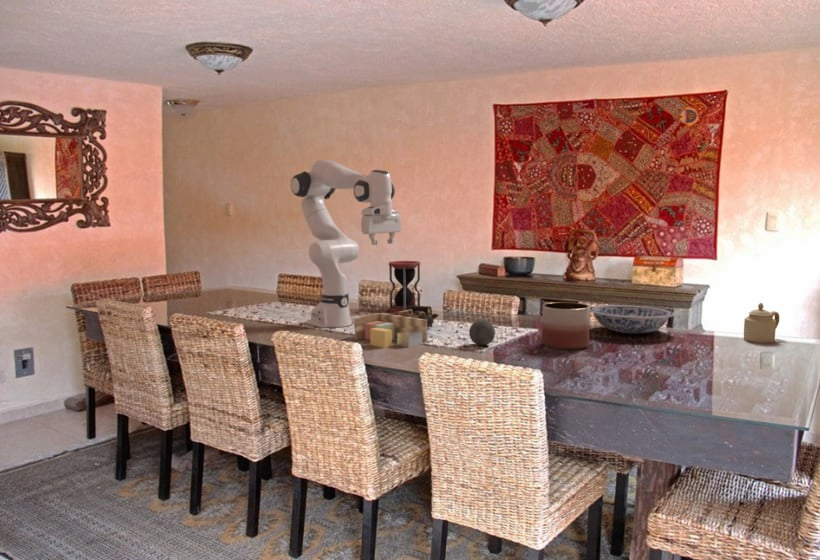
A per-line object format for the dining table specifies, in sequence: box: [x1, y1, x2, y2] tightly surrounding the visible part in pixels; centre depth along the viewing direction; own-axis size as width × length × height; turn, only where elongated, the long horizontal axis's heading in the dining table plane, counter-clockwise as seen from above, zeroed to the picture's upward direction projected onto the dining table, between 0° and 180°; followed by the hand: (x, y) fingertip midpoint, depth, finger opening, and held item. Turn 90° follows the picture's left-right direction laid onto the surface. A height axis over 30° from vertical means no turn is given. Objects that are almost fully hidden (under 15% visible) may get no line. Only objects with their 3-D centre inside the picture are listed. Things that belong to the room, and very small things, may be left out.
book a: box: [364, 321, 385, 341], centre depth 272 cm, size 4×8×6 cm, turn 138°
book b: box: [374, 322, 396, 340], centre depth 269 cm, size 4×8×6 cm, turn 138°
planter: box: [541, 301, 590, 351], centre depth 255 cm, size 18×18×16 cm
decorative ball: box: [468, 319, 496, 346], centre depth 257 cm, size 10×10×10 cm
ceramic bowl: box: [589, 304, 676, 335], centre depth 278 cm, size 34×34×10 cm
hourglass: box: [388, 260, 421, 313], centre depth 337 cm, size 16×16×25 cm
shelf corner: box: [354, 312, 428, 343], centre depth 266 cm, size 26×15×9 cm, turn 48°
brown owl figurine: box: [390, 305, 439, 329], centre depth 287 cm, size 15×11×25 cm
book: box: [369, 327, 393, 349], centre depth 258 cm, size 4×8×6 cm, turn 48°
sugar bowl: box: [743, 302, 780, 344], centre depth 263 cm, size 15×11×15 cm
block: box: [396, 330, 423, 348], centre depth 260 cm, size 6×8×5 cm
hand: (382, 244), depth 269 cm, fingers open, 8 cm apart
